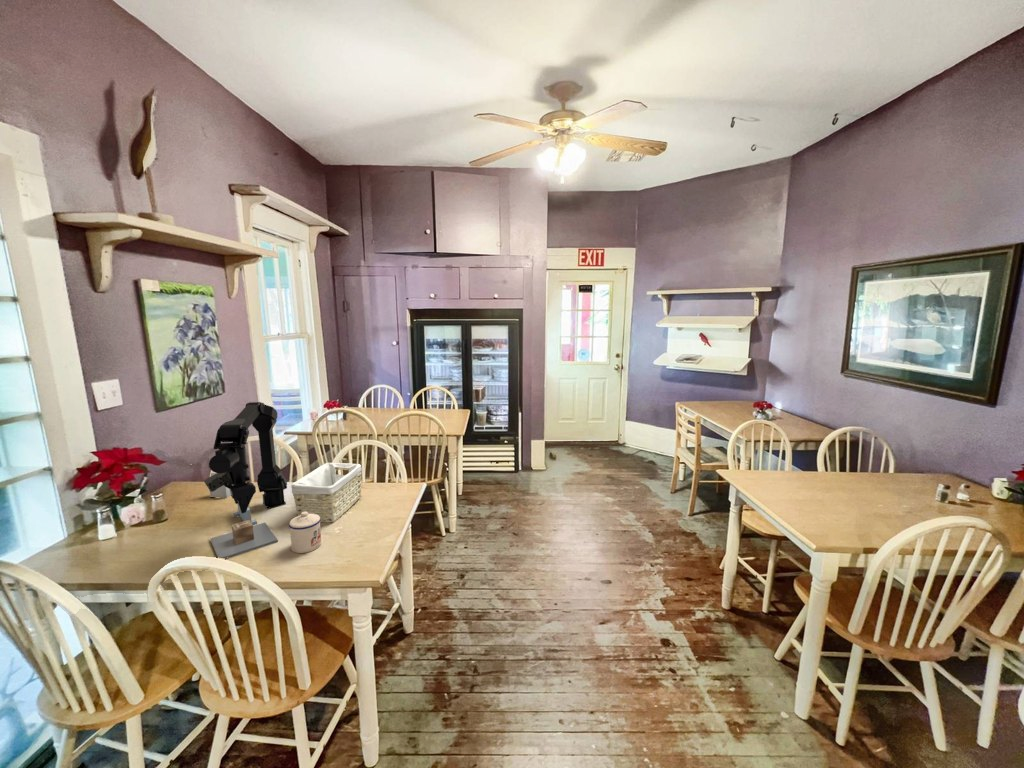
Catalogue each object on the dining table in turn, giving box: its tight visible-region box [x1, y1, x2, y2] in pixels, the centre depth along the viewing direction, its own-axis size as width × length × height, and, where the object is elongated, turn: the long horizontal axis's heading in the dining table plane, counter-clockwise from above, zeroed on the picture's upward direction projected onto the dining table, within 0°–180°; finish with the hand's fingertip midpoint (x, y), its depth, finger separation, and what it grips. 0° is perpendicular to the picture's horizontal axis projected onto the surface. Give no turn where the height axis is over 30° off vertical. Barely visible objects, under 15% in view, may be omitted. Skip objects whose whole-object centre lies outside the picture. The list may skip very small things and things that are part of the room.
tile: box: [210, 522, 279, 560], centre depth 136 cm, size 16×16×1 cm
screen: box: [232, 504, 258, 526], centre depth 150 cm, size 5×13×6 cm, turn 44°
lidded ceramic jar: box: [288, 511, 322, 554], centre depth 134 cm, size 12×9×12 cm
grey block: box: [209, 472, 231, 499], centre depth 169 cm, size 4×7×10 cm, turn 90°
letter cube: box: [231, 520, 254, 545], centre depth 135 cm, size 5×5×5 cm
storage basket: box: [290, 462, 363, 523], centre depth 158 cm, size 24×16×15 cm
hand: (240, 508), depth 134 cm, fingers open, 9 cm apart
